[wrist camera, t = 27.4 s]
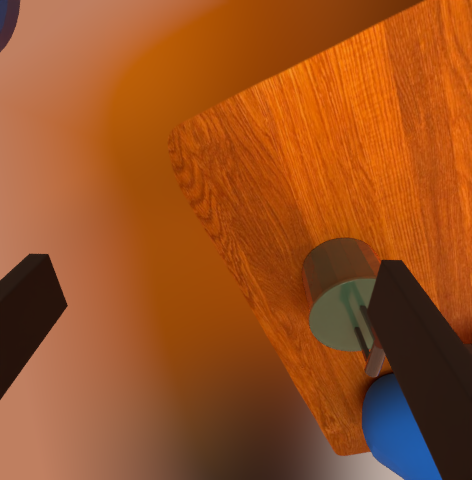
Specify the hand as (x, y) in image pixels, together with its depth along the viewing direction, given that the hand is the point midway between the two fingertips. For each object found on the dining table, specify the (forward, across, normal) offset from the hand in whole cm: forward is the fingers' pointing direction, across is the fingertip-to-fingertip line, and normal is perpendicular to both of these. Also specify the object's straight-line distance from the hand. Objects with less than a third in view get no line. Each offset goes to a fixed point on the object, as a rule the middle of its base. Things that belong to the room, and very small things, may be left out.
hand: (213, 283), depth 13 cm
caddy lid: (+22, +17, -23) cm, 36 cm away
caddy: (+33, +17, -23) cm, 43 cm away
